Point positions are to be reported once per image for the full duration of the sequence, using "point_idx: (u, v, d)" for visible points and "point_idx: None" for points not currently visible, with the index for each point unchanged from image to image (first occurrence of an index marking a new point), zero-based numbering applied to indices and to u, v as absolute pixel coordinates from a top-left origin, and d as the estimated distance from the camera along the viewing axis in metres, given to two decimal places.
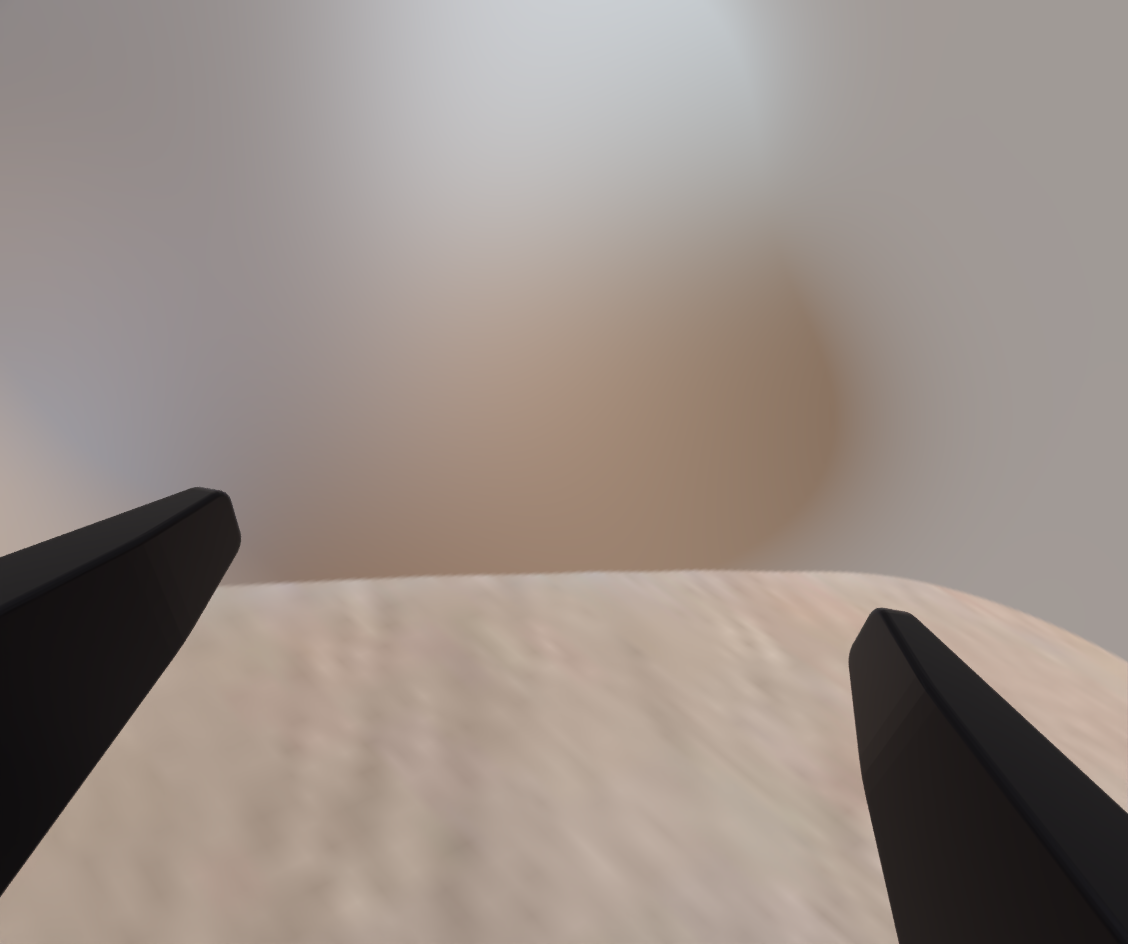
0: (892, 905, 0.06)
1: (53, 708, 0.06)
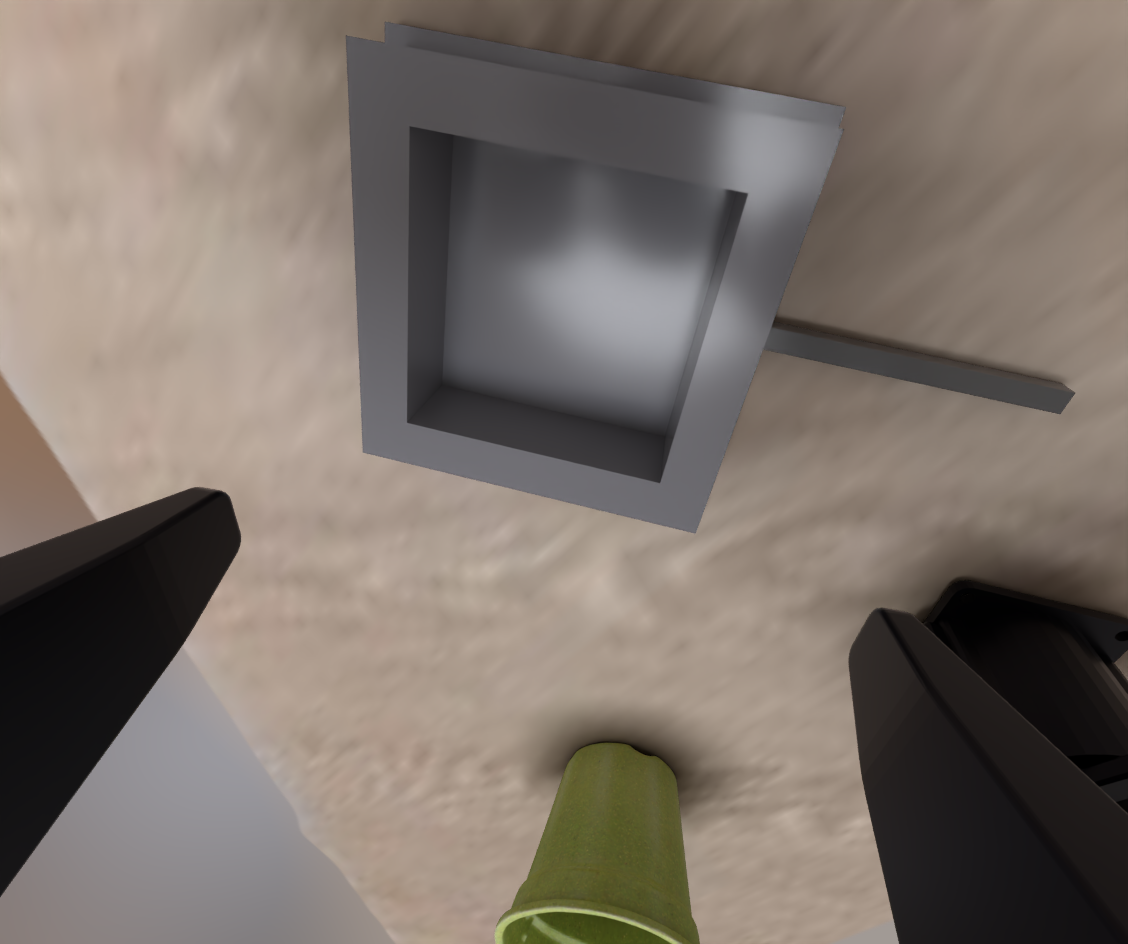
0: (892, 905, 0.06)
1: (53, 708, 0.06)
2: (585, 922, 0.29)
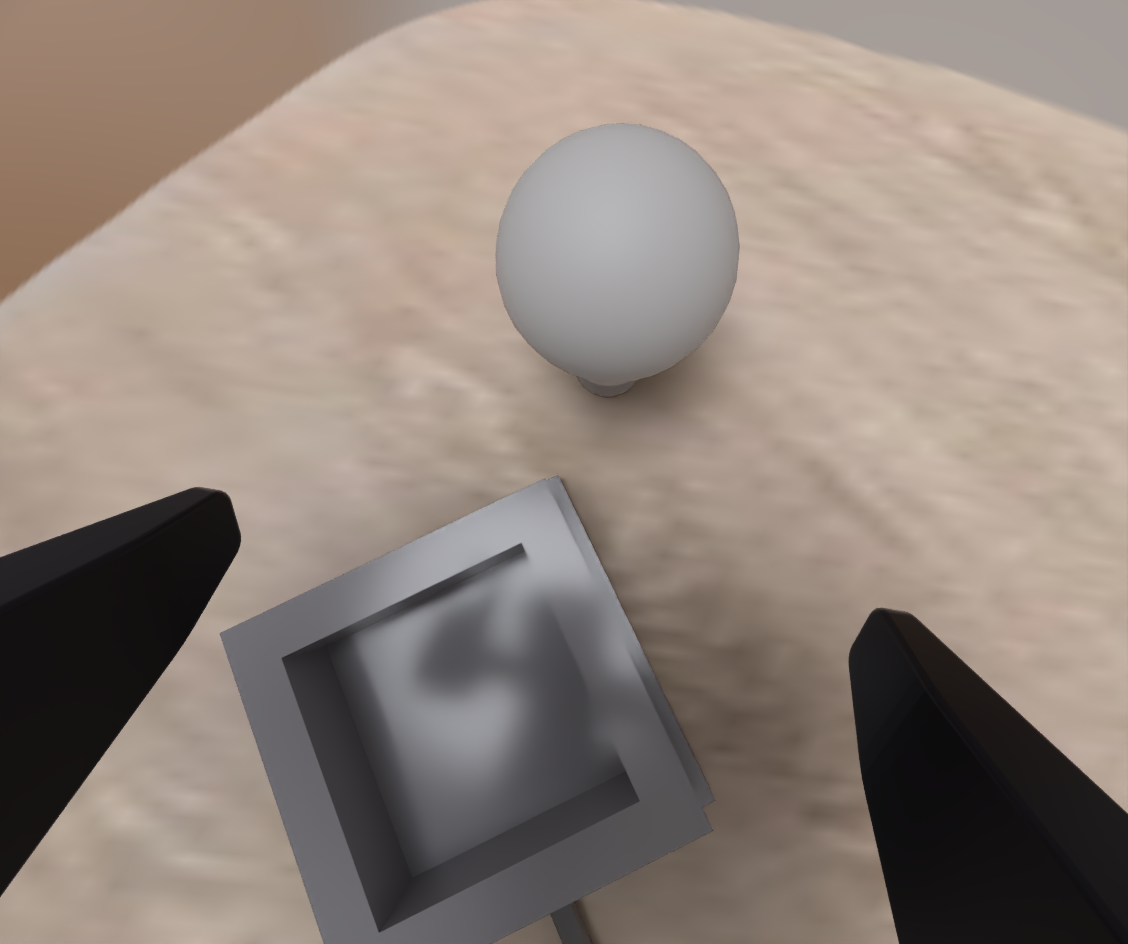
0: (892, 905, 0.06)
1: (53, 708, 0.06)
2: None
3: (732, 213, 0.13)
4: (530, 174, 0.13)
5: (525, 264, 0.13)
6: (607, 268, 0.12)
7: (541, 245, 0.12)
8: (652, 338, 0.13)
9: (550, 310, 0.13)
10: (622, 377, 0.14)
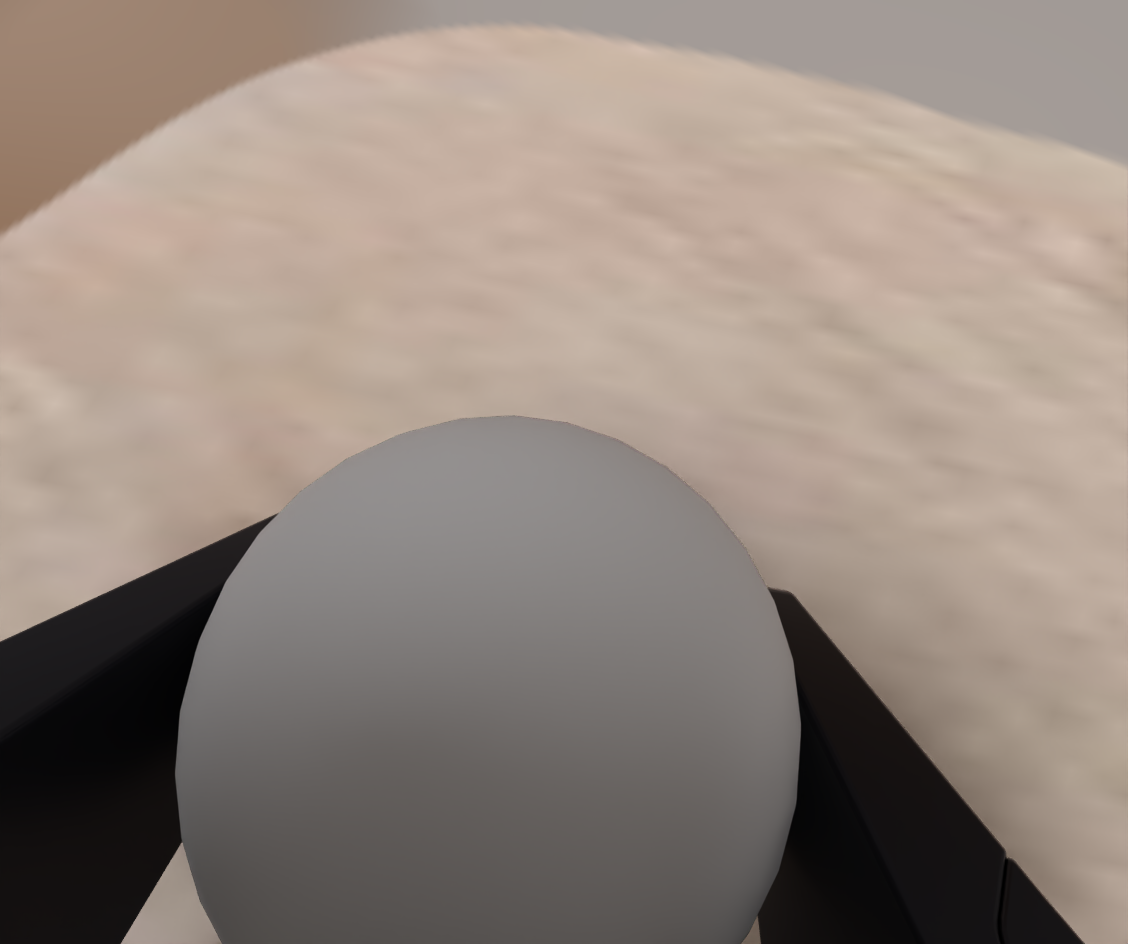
0: None
1: None
2: None
3: (789, 692, 0.05)
4: (225, 610, 0.05)
5: (197, 888, 0.04)
6: None
7: (213, 893, 0.04)
8: None
9: None
10: None
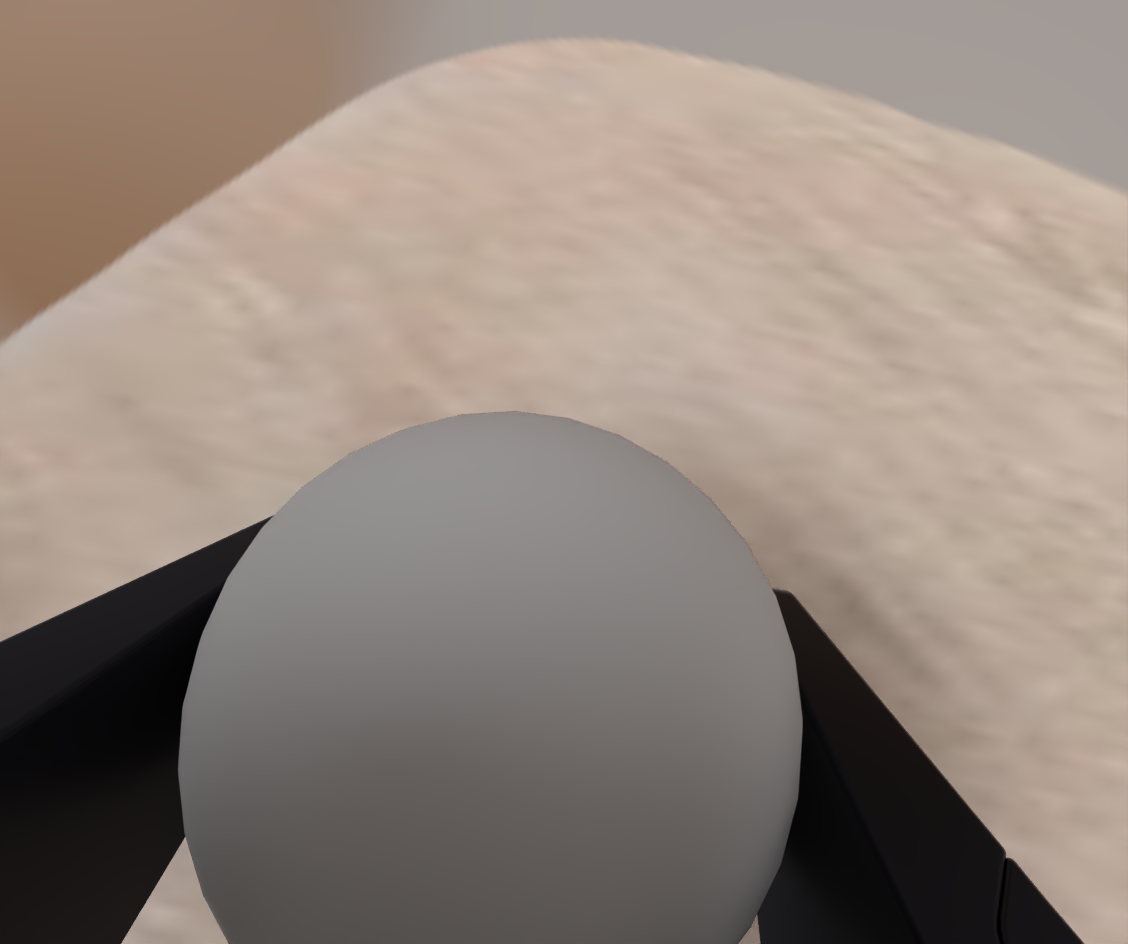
0: None
1: None
2: None
3: (791, 687, 0.05)
4: (227, 605, 0.05)
5: None
6: None
7: (217, 887, 0.04)
8: None
9: None
10: None
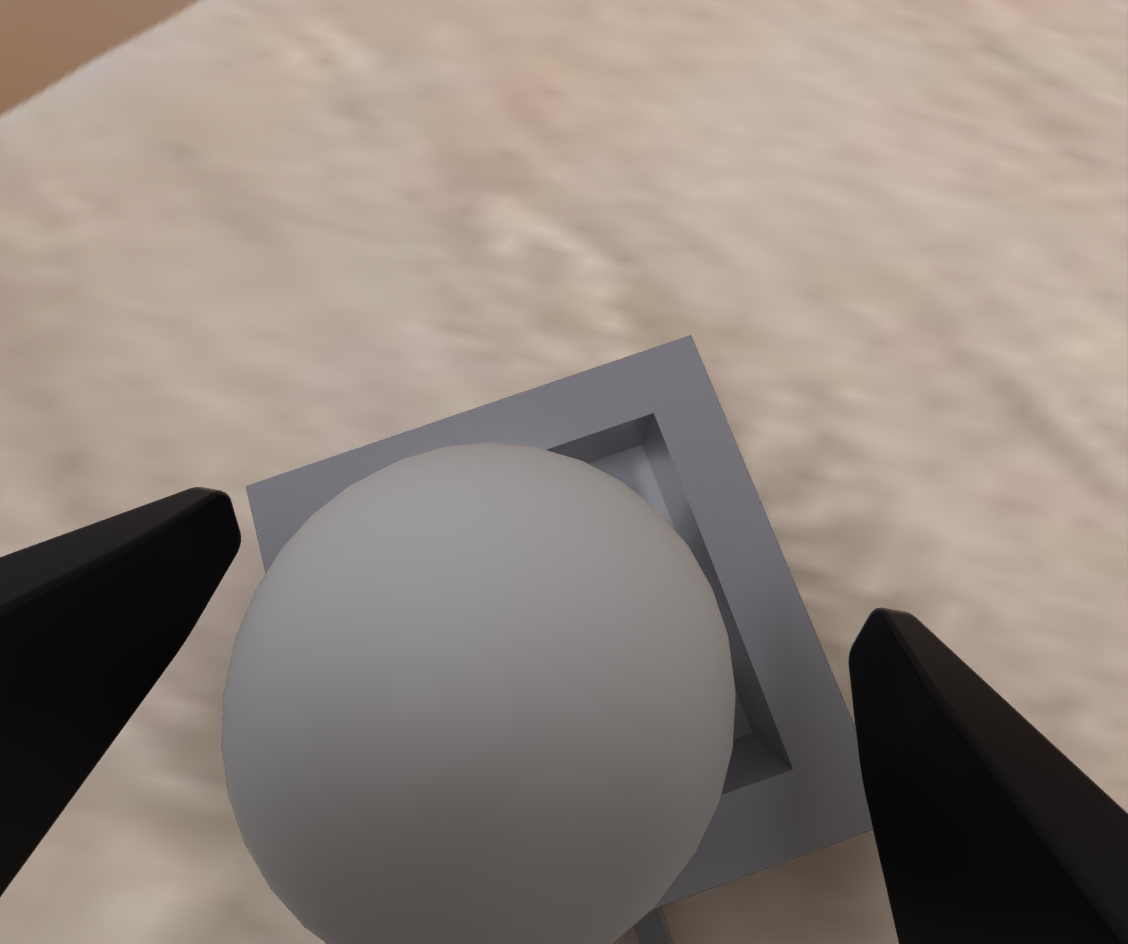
0: (892, 905, 0.06)
1: (53, 708, 0.06)
2: None
3: (715, 666, 0.06)
4: (255, 614, 0.06)
5: (242, 834, 0.06)
6: (399, 935, 0.05)
7: (255, 833, 0.05)
8: None
9: None
10: None
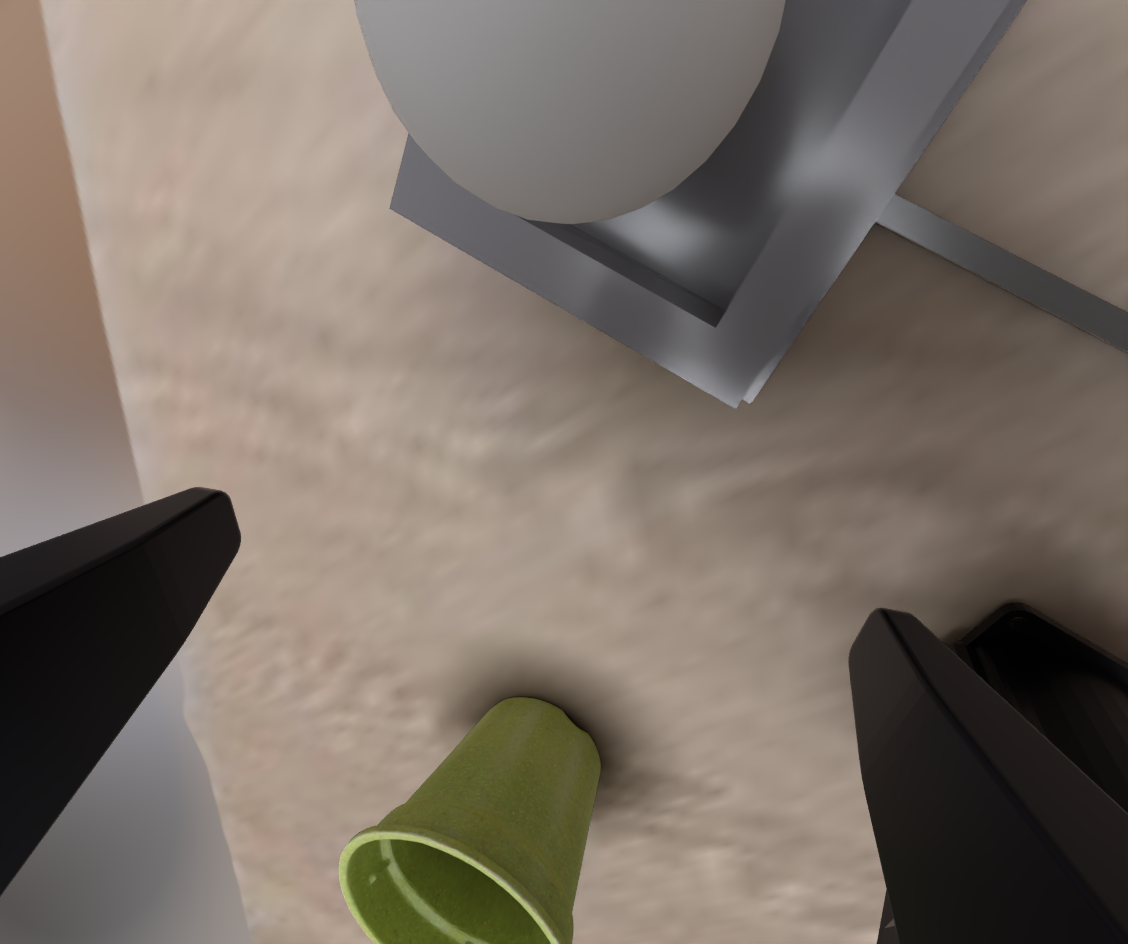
0: (892, 905, 0.06)
1: (53, 708, 0.06)
2: (447, 892, 0.25)
3: None
4: (368, 37, 0.08)
5: (478, 163, 0.08)
6: (572, 52, 0.06)
7: (469, 122, 0.07)
8: (720, 63, 0.07)
9: (560, 182, 0.08)
10: (719, 143, 0.09)
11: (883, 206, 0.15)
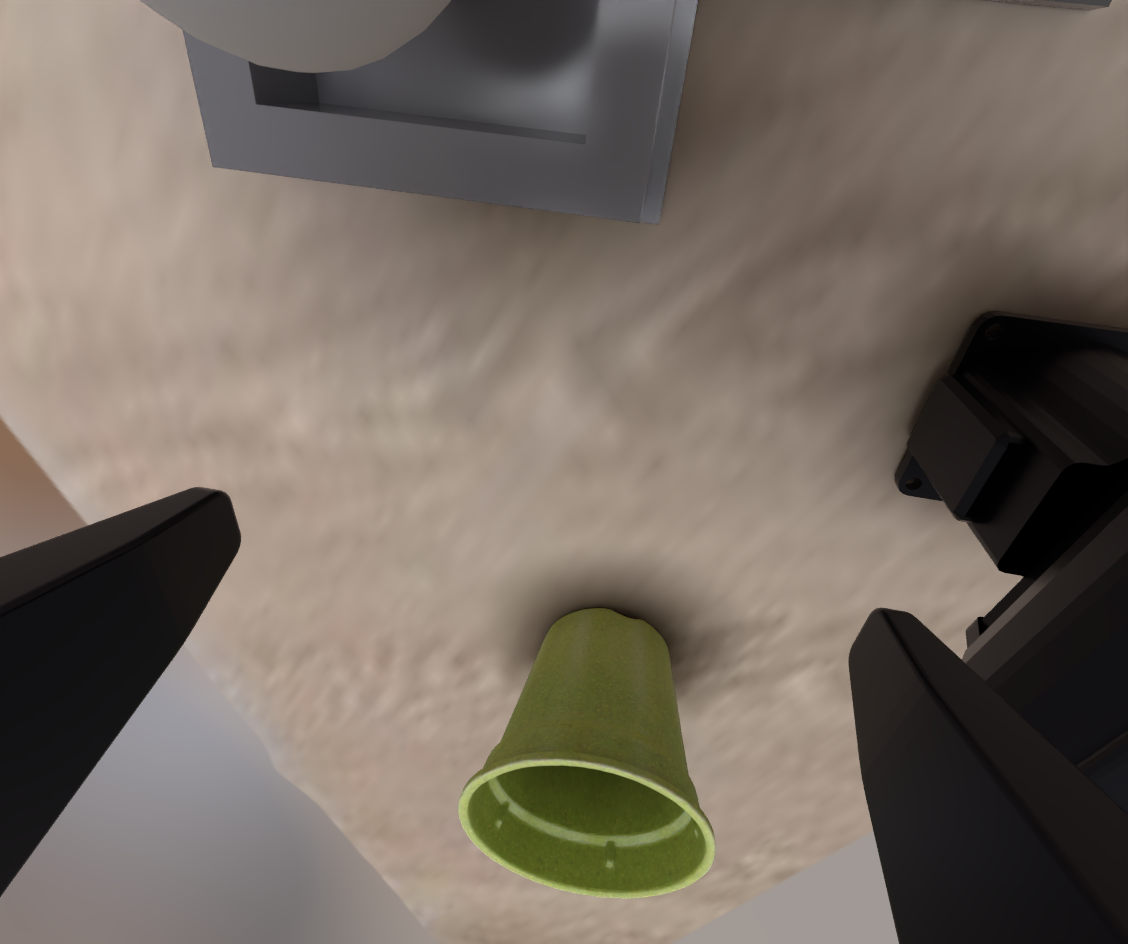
0: (892, 905, 0.06)
1: (53, 708, 0.06)
2: (573, 809, 0.25)
3: None
4: None
5: None
6: None
7: None
8: None
9: None
10: None
11: None
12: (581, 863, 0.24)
